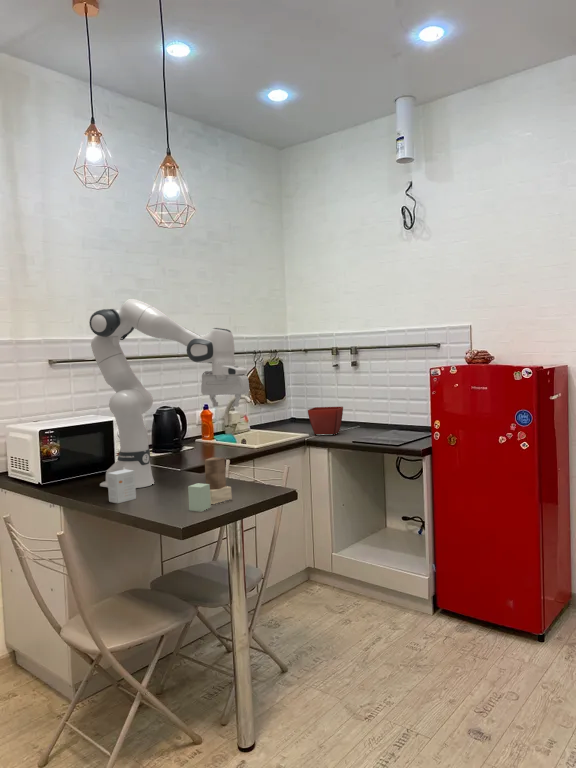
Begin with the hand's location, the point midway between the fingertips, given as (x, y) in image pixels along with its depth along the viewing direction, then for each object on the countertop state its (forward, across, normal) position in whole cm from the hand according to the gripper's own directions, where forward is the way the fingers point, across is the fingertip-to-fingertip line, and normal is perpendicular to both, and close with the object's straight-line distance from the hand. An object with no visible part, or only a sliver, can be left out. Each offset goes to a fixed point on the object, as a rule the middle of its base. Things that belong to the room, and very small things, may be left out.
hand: (225, 406), depth 223 cm
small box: (+31, -26, -30) cm, 51 cm away
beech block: (+31, +8, -20) cm, 38 cm away
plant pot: (+31, -28, +149) cm, 155 cm away
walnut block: (+26, +8, -20) cm, 34 cm away
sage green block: (+31, +10, -31) cm, 45 cm away
